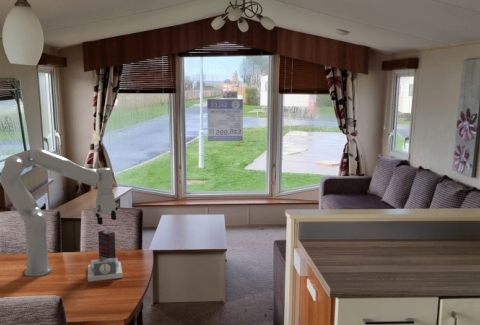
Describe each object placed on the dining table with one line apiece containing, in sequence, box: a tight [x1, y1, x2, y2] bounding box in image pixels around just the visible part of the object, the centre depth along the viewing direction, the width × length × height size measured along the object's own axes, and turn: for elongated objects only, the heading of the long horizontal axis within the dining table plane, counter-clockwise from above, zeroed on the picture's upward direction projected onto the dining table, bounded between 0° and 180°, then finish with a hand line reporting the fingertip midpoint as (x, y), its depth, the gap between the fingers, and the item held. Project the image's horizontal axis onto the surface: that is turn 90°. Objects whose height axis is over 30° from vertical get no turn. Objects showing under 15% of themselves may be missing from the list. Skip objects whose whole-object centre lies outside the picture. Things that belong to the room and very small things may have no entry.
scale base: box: [87, 260, 123, 282], centre depth 218 cm, size 16×16×8 cm
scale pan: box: [90, 257, 119, 270], centre depth 220 cm, size 11×13×1 cm
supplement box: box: [97, 229, 116, 259], centre depth 236 cm, size 9×5×16 cm, turn 55°
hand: (107, 221), depth 235 cm, fingers open, 9 cm apart
